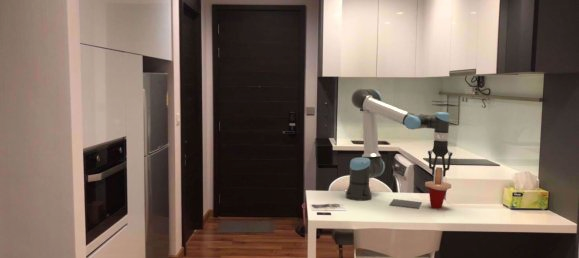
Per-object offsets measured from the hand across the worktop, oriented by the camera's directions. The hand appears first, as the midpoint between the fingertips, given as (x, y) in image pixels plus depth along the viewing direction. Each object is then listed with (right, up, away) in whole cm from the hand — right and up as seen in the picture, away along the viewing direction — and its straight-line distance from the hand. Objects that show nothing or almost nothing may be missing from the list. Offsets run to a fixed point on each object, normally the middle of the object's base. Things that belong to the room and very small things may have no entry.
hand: (438, 181), depth 277 cm
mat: (-17, -14, +6) cm, 22 cm away
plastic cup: (-1, -15, +1) cm, 15 cm away
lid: (0, -3, 0) cm, 3 cm away
